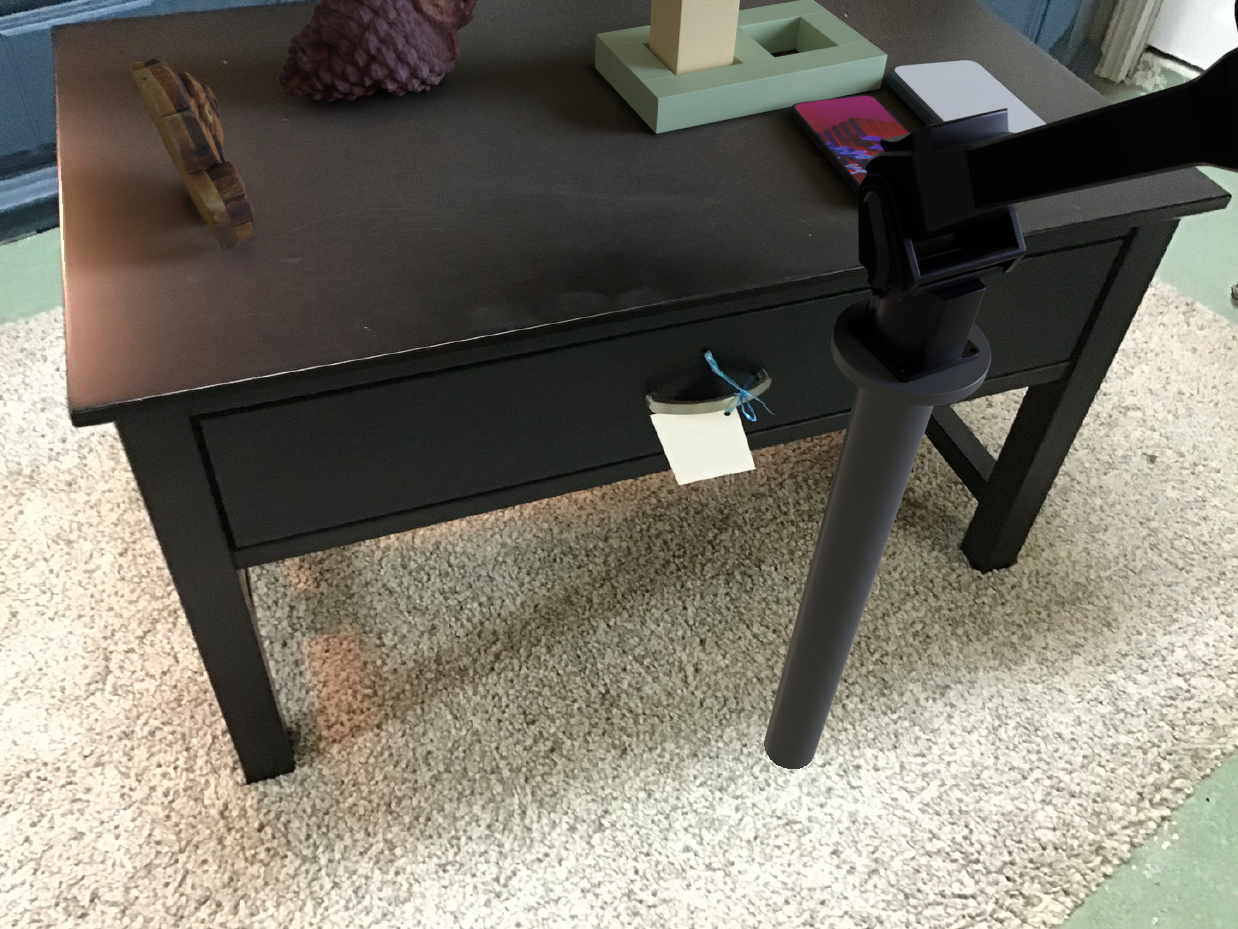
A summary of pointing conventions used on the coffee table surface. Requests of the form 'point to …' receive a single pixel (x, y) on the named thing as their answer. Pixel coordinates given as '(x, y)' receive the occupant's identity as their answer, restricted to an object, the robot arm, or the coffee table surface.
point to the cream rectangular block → (693, 34)
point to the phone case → (958, 93)
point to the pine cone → (374, 47)
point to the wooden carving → (197, 147)
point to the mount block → (745, 68)
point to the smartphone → (848, 131)
